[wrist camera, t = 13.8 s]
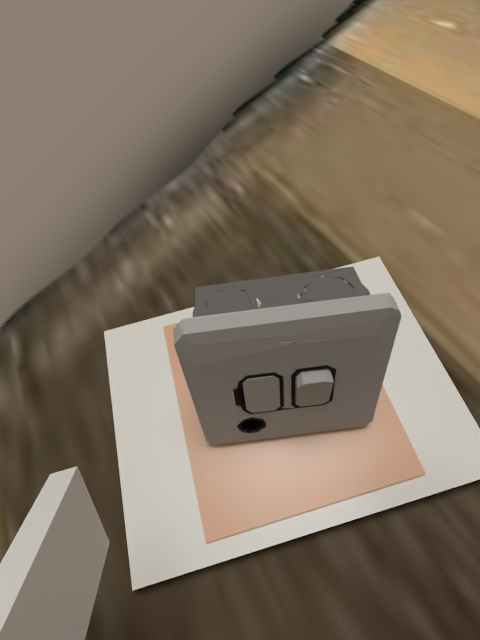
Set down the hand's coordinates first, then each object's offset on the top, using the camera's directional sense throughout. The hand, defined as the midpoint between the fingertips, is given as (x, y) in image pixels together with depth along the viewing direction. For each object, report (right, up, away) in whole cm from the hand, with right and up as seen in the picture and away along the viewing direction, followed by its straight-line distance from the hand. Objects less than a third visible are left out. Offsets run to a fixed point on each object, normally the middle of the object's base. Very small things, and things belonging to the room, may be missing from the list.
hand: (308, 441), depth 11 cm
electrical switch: (0, -1, +12) cm, 12 cm away
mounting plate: (0, -1, +13) cm, 13 cm away
